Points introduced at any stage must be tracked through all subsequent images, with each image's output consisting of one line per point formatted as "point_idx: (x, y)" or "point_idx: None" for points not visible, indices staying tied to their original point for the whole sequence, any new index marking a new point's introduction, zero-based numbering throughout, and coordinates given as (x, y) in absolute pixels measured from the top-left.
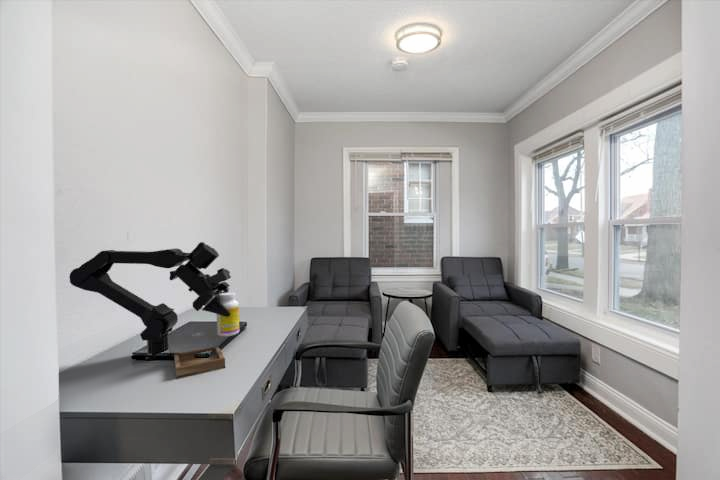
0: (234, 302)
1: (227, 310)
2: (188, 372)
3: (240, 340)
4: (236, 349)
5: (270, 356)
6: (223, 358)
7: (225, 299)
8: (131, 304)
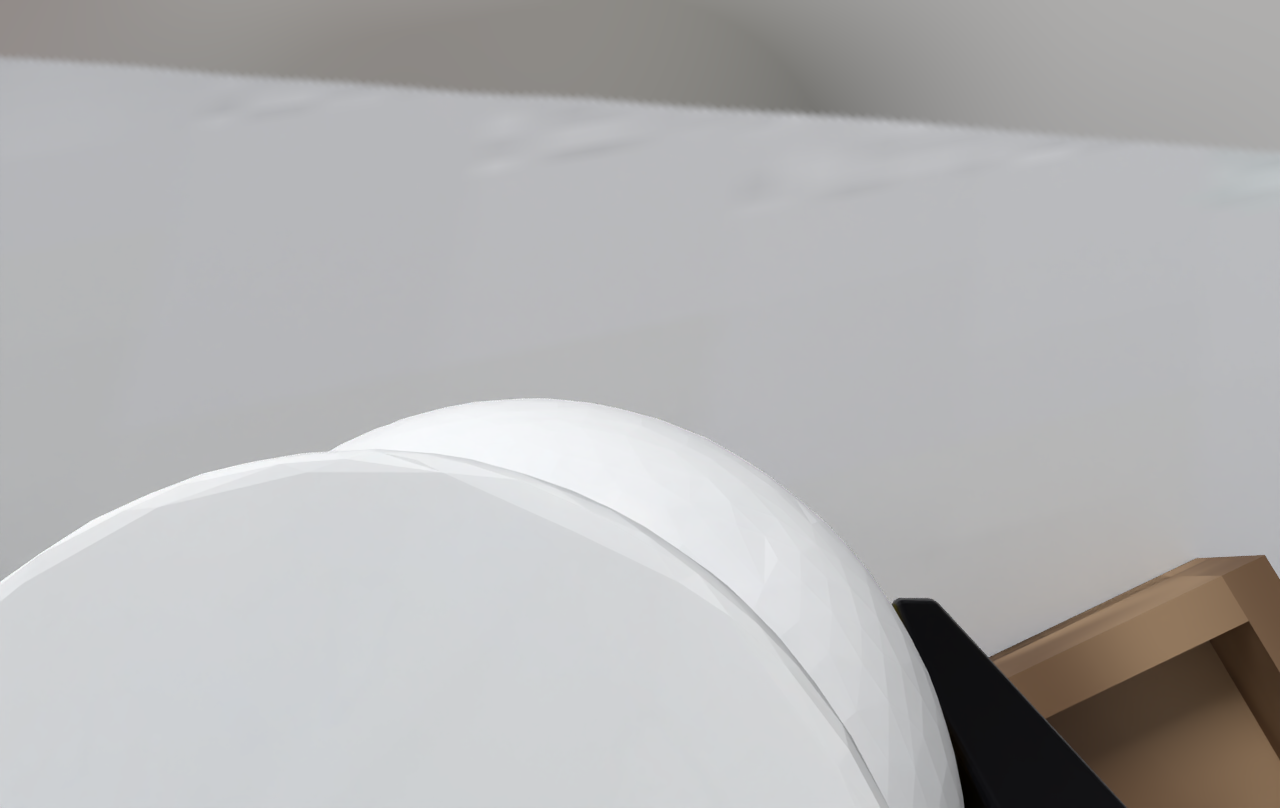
0: (665, 491)
1: (946, 695)
2: None
3: None
4: None
5: (896, 121)
6: (1261, 575)
7: None
8: None
